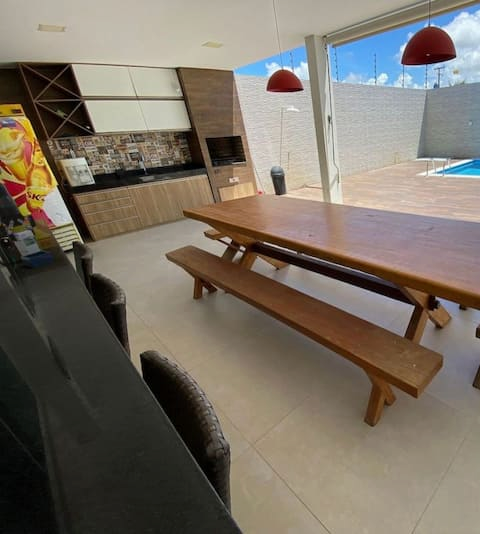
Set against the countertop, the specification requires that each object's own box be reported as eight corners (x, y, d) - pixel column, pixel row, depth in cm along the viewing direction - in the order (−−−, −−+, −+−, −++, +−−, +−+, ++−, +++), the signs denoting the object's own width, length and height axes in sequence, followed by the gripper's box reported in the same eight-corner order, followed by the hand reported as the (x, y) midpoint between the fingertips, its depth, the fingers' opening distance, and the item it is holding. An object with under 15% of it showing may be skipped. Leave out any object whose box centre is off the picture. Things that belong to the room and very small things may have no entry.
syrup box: (34, 260, 153) (18, 233, 147) (24, 260, 154) (8, 233, 148) (46, 256, 158) (31, 229, 152) (36, 256, 159) (21, 229, 153)
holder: (34, 268, 144) (28, 258, 142) (26, 266, 147) (20, 256, 145) (55, 261, 151) (50, 252, 148) (46, 259, 154) (41, 250, 151)
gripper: (20, 201, 152) (38, 233, 159) (-20, 209, 140) (1, 243, 147) (28, 202, 149) (45, 234, 156) (-13, 210, 137) (8, 244, 144)
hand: (24, 238), depth 152 cm, fingers closed on syrup box, 6 cm apart
